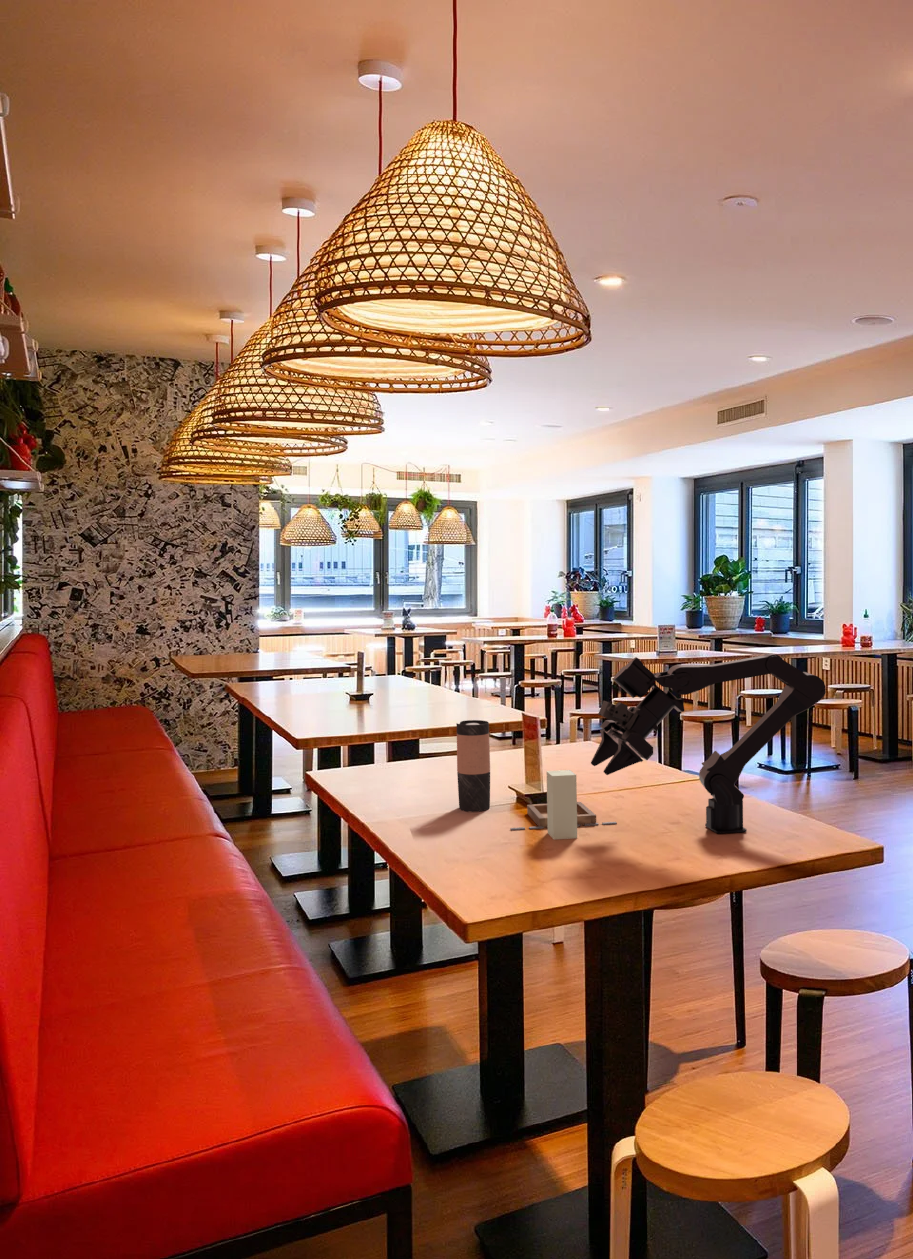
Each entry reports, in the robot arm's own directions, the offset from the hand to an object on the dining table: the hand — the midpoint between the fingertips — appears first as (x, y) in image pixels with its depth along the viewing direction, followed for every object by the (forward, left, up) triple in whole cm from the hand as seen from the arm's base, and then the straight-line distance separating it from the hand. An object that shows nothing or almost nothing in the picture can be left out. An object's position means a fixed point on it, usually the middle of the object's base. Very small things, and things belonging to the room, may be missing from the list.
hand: (598, 769), depth 194 cm
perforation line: (+6, -6, -13) cm, 16 cm away
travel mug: (+22, -27, -14) cm, 37 cm away
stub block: (+8, 0, -13) cm, 16 cm away
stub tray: (+5, -13, -13) cm, 19 cm away
